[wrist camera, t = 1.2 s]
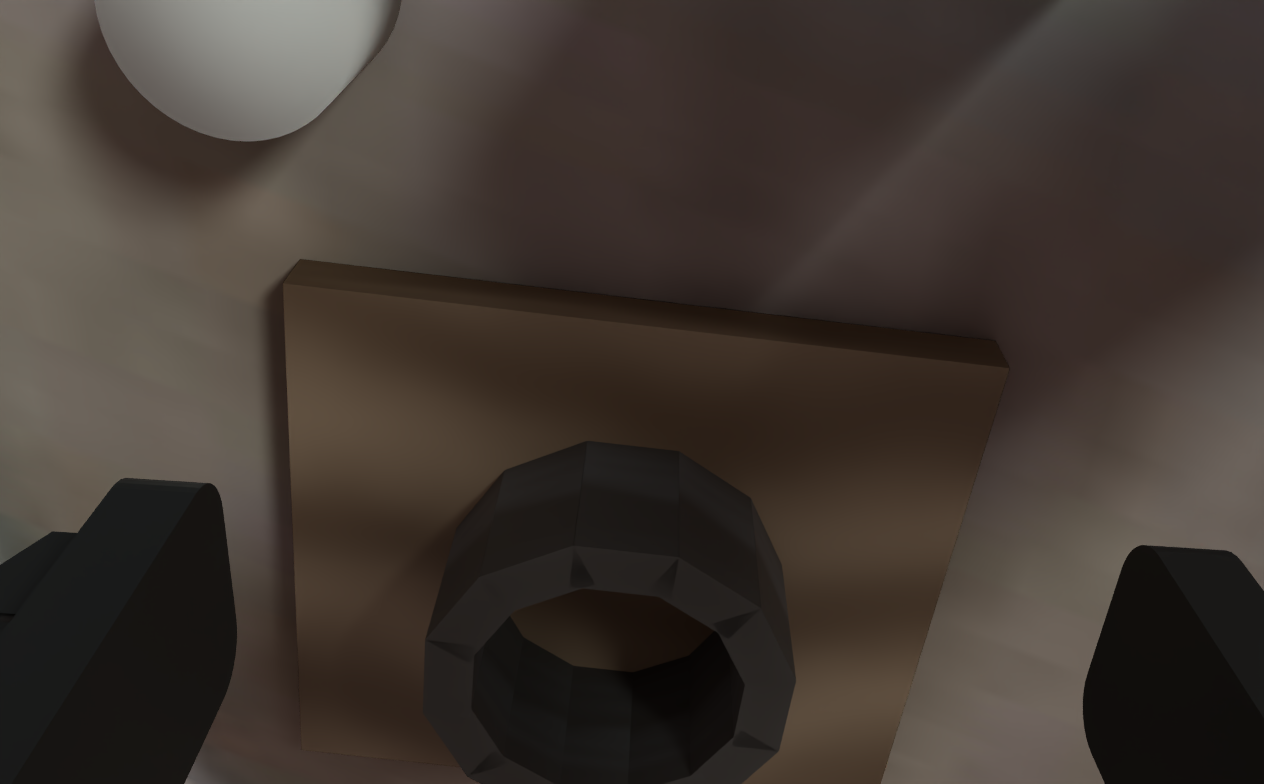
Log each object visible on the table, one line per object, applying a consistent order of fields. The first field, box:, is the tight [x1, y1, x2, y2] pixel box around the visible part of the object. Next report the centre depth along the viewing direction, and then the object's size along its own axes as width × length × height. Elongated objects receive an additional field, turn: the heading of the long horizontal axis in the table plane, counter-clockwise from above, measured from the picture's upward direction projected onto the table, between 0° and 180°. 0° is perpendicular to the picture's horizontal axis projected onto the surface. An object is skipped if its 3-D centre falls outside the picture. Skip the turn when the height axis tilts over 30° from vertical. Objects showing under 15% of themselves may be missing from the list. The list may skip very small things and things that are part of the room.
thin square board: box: [283, 259, 1010, 784], centre depth 31 cm, size 16×18×6 cm
